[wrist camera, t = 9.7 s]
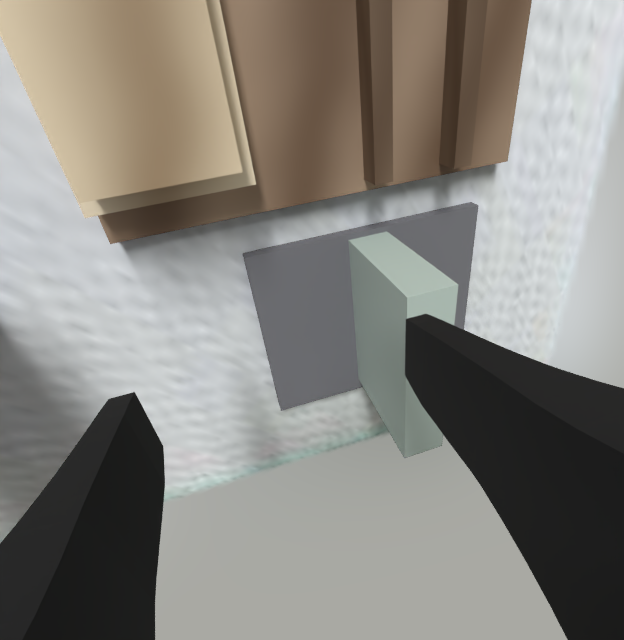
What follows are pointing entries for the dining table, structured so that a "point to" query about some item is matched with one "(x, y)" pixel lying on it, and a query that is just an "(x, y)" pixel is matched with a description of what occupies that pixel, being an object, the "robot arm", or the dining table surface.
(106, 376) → the dining table surface
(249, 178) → the lower pine offcut
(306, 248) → the charcoal mat
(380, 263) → the sage panel
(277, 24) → the walnut rack
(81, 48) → the upper pine offcut
